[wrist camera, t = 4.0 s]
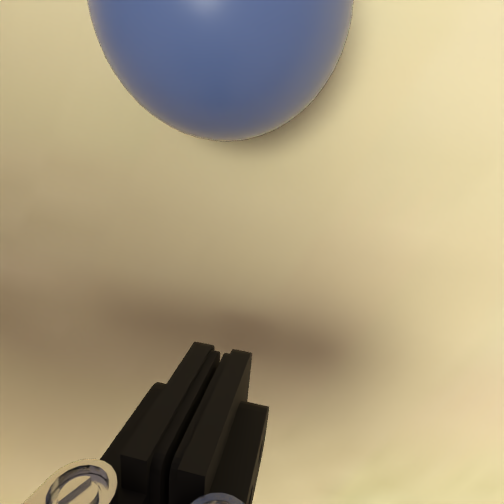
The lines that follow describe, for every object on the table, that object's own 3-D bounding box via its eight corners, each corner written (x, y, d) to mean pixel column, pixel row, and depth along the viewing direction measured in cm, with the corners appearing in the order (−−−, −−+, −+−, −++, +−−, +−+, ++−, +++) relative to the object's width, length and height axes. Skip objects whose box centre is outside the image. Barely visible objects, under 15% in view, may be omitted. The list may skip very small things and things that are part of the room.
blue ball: (236, 175, 12) (171, 208, 7) (122, 32, 11) (-53, -58, 6) (385, 48, 10) (457, -45, 5) (260, -133, 9) (184, -475, 4)
